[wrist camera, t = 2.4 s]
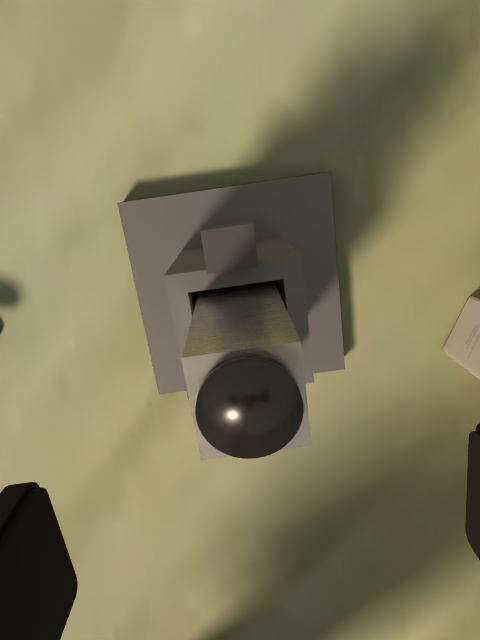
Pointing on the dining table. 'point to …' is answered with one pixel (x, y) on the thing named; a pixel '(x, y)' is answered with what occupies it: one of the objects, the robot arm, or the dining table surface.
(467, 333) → the ink cartridge box
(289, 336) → the column
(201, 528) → the dining table surface
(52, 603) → the robot arm
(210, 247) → the stand
